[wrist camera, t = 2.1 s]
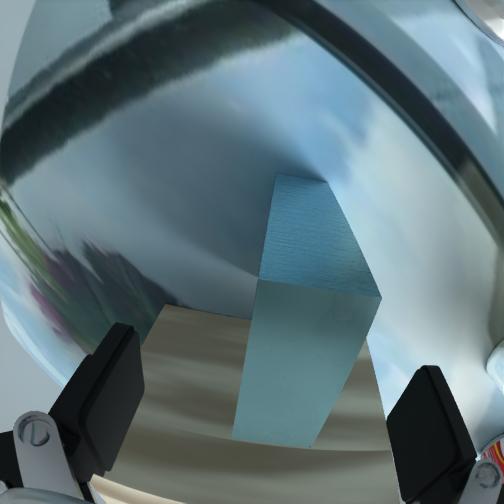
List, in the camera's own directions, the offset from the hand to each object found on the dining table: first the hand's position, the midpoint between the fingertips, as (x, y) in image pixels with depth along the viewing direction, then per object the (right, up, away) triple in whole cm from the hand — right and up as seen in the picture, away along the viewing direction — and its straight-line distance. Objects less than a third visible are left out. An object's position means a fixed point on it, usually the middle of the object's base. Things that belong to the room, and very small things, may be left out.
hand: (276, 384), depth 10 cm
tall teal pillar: (+2, +5, +10) cm, 11 cm away
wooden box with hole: (-1, -8, +16) cm, 18 cm away
